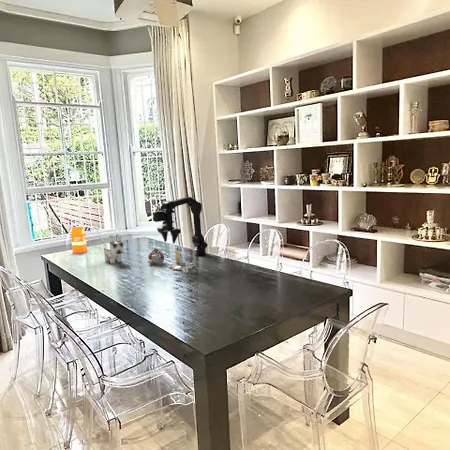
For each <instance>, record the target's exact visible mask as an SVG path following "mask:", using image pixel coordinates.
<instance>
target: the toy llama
mask: <svg viewBox="0 0 450 450" xmlns="http://www.w3.org/2000/svg"><path fill="white" fill-rule="evenodd" d="M108 239H109V246H108V247H104V248H103V249H104V262H105V263H109V264H111V265H115V264H116V263H118V264H119V263H122V254H125V250H124V248H125V247H124V242H123V241H122V235H121V234H119V233H118V234H115V235H109V236H108ZM115 239H116V241H115Z"/></svg>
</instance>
